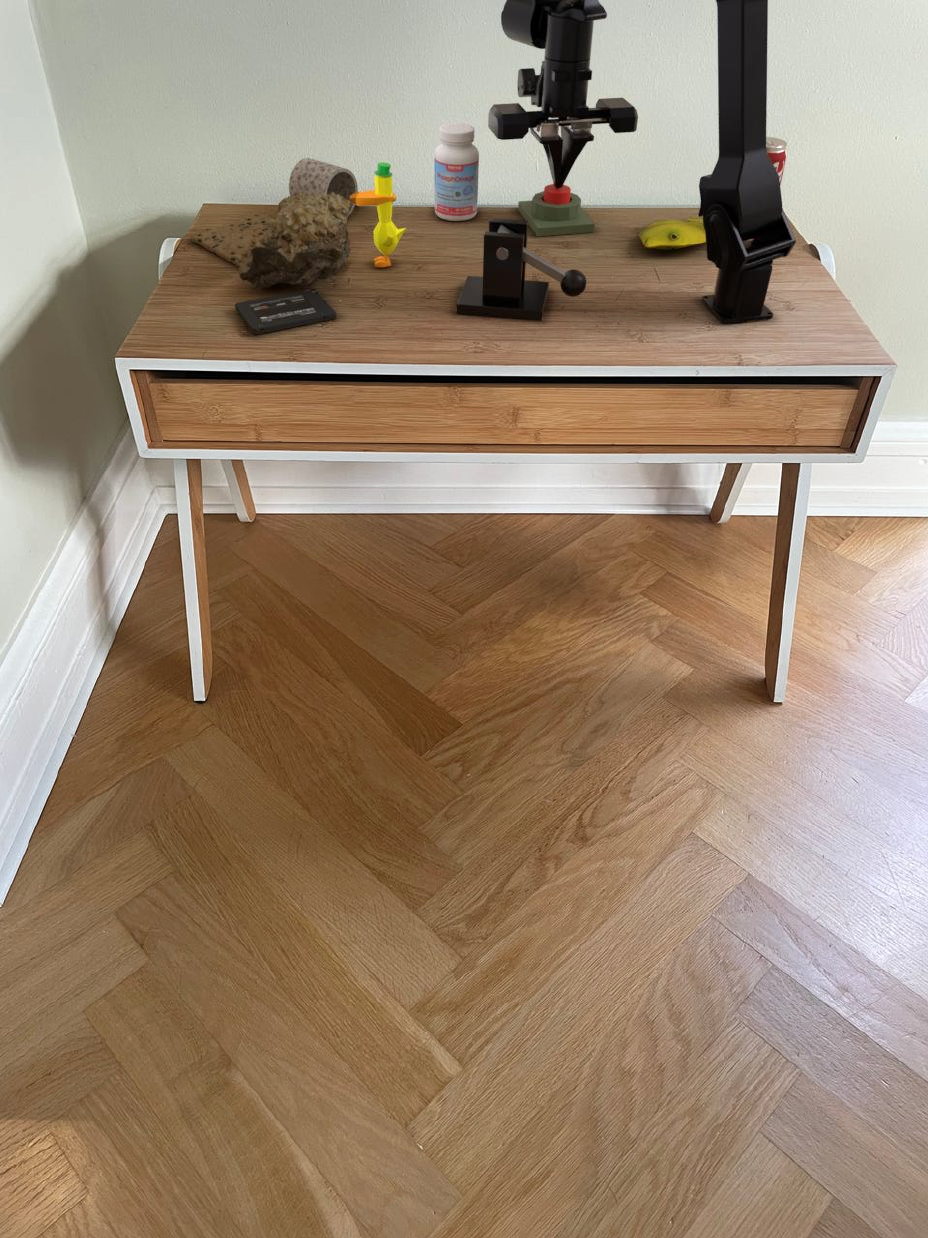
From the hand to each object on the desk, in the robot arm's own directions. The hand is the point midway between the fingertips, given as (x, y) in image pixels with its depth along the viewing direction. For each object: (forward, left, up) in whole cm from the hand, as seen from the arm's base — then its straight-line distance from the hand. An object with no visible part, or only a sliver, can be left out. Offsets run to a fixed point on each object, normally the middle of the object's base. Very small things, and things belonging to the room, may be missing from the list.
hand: (557, 187), depth 128 cm
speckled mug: (+12, +32, -2) cm, 34 cm away
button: (0, 0, -2) cm, 2 cm away
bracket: (-23, +13, -4) cm, 27 cm away
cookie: (+1, +41, -5) cm, 42 cm away
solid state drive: (-22, +39, -3) cm, 45 cm away
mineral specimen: (-10, +35, -4) cm, 37 cm away
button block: (0, 0, -4) cm, 4 cm away
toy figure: (-10, +26, -4) cm, 28 cm away
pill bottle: (+5, +13, -5) cm, 15 cm away
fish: (-7, -10, -4) cm, 13 cm away
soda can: (-11, -24, -5) cm, 27 cm away
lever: (-25, +10, -1) cm, 27 cm away
